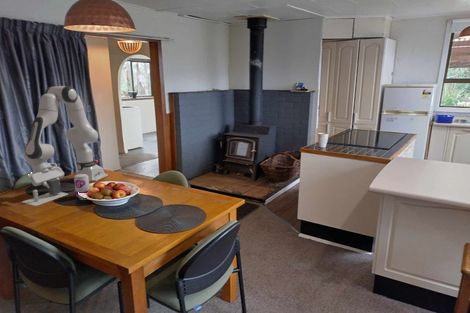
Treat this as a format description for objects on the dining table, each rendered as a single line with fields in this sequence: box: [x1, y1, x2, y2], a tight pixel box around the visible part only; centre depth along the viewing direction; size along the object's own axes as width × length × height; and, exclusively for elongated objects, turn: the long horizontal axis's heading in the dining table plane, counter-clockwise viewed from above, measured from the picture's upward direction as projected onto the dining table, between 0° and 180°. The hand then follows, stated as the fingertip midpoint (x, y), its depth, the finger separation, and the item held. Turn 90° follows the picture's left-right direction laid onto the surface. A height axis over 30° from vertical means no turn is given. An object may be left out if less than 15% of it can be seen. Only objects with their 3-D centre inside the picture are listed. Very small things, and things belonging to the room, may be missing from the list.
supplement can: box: [73, 173, 91, 201], centre depth 208 cm, size 8×8×15 cm
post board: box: [22, 189, 69, 207], centre depth 205 cm, size 22×14×8 cm, turn 154°
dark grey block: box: [47, 178, 62, 195], centre depth 210 cm, size 5×5×9 cm
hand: (54, 186), depth 210 cm, fingers closed on dark grey block, 5 cm apart
